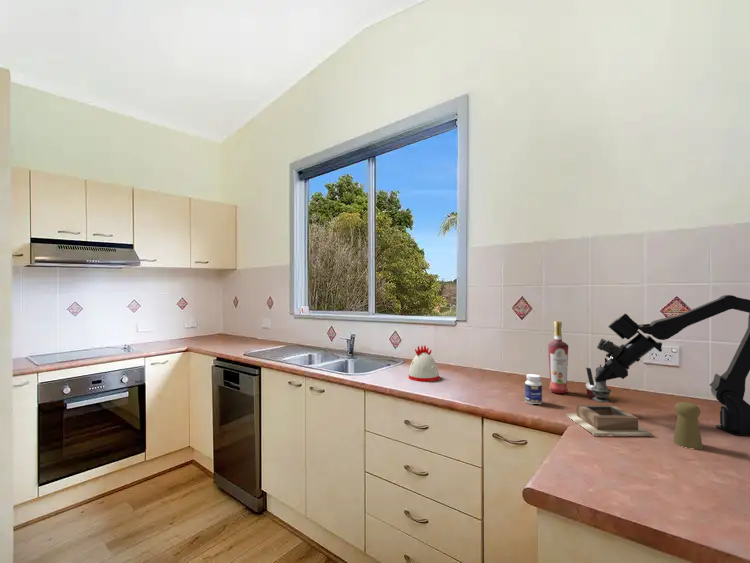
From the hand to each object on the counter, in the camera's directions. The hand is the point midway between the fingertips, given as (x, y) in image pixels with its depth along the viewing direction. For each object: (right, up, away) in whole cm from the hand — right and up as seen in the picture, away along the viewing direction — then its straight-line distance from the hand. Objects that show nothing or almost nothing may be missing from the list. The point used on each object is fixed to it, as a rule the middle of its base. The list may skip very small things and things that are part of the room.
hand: (596, 379), depth 127 cm
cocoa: (+7, -11, +13) cm, 19 cm away
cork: (+9, -10, -27) cm, 30 cm away
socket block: (-5, -10, -14) cm, 18 cm away
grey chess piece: (+1, -7, -1) cm, 7 cm away
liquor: (-2, -11, +21) cm, 24 cm away
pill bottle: (-18, -11, +9) cm, 22 cm away
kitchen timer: (-53, -11, +45) cm, 71 cm away
